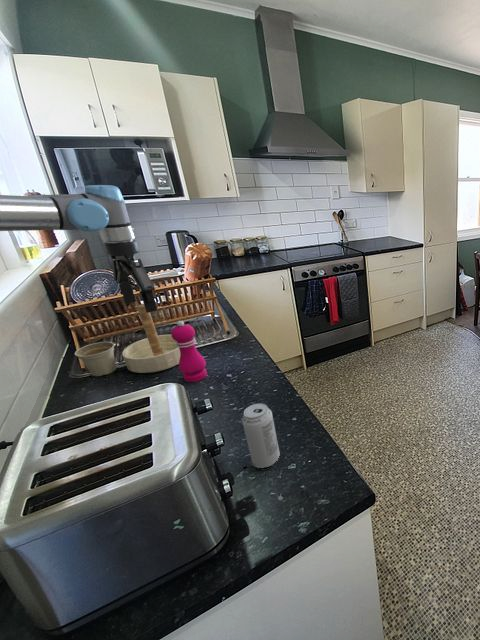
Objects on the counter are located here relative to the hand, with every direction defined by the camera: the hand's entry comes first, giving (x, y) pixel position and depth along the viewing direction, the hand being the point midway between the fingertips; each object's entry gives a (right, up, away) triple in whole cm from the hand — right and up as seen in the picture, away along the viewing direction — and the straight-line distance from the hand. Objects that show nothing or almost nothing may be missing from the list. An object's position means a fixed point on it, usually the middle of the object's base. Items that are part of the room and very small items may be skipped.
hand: (141, 306), depth 112 cm
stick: (0, -18, +8) cm, 20 cm away
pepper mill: (+17, -23, +1) cm, 29 cm away
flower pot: (-14, -21, +2) cm, 25 cm away
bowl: (0, -19, +9) cm, 21 cm away
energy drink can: (+54, -38, -30) cm, 73 cm away
